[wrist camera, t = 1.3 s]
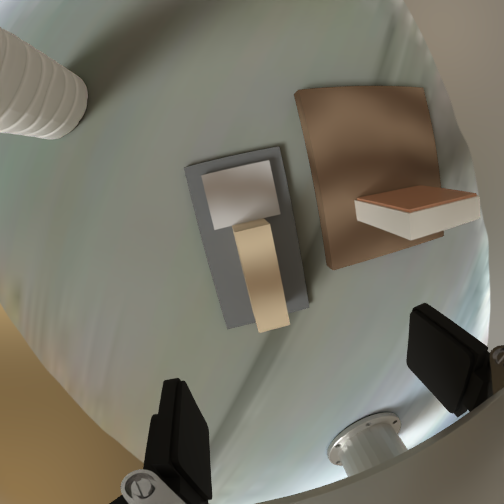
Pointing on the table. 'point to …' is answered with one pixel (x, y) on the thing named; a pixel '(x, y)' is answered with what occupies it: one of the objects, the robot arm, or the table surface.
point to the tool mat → (225, 249)
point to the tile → (418, 210)
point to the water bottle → (37, 92)
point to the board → (365, 161)
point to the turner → (251, 234)
